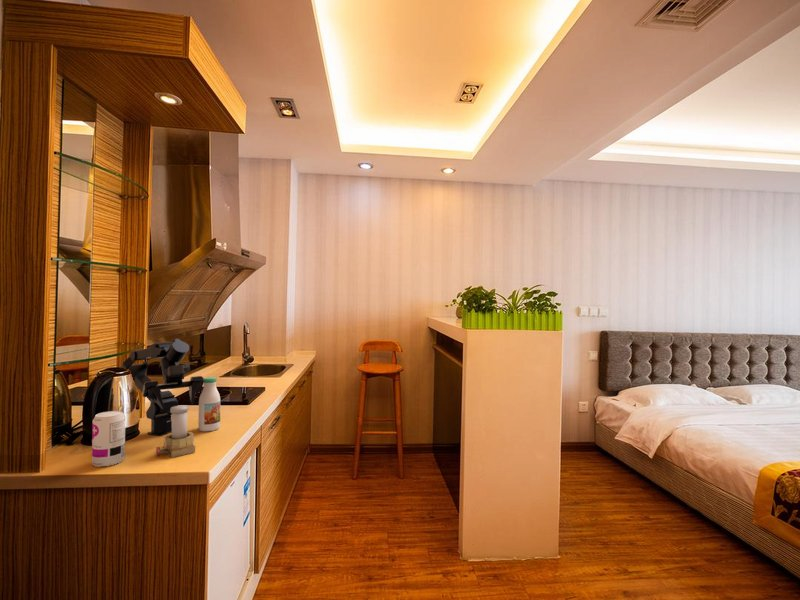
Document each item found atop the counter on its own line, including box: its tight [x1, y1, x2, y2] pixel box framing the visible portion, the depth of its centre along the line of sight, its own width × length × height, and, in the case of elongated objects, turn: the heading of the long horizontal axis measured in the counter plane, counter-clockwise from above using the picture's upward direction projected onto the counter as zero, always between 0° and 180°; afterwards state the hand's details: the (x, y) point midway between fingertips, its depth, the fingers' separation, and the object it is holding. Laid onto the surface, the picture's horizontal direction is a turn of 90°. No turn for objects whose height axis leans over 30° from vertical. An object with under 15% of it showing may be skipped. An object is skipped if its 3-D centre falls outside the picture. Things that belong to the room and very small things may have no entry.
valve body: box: [155, 431, 196, 459], centre depth 133 cm, size 14×11×5 cm
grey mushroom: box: [170, 404, 189, 439], centre depth 133 cm, size 5×5×12 cm
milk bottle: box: [197, 376, 221, 433], centre depth 156 cm, size 8×8×20 cm
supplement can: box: [91, 410, 126, 467], centre depth 123 cm, size 8×8×15 cm
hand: (178, 406), depth 138 cm, fingers open, 9 cm apart
